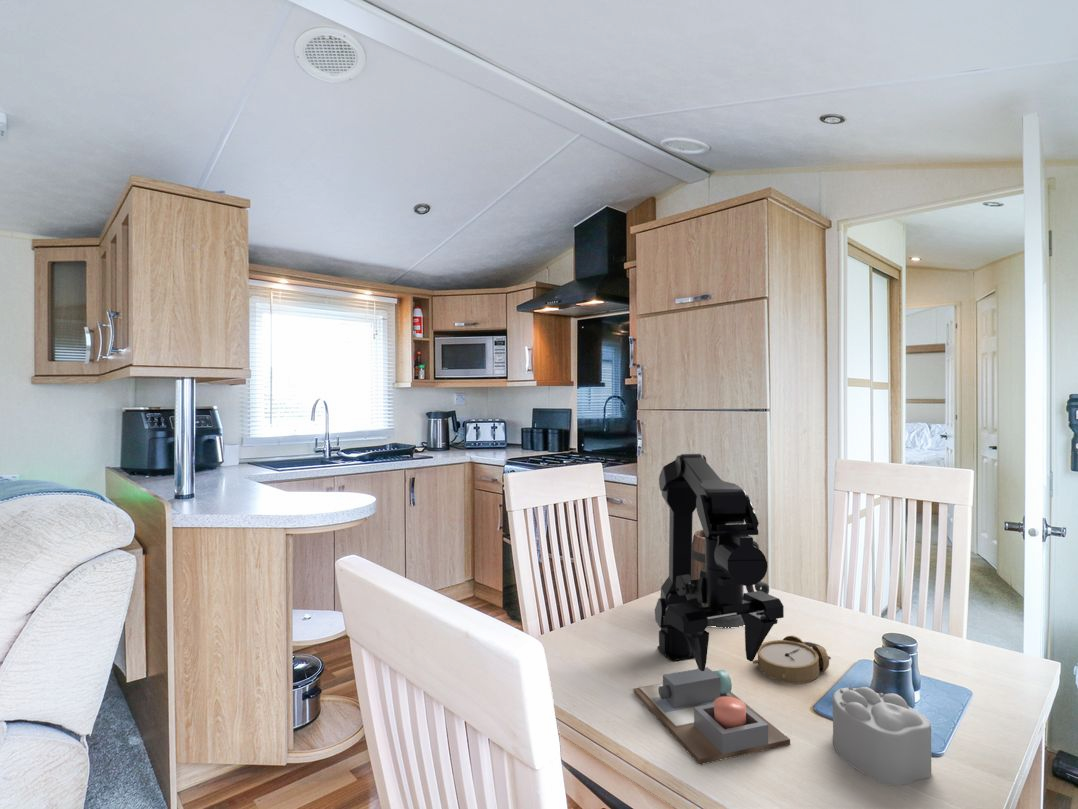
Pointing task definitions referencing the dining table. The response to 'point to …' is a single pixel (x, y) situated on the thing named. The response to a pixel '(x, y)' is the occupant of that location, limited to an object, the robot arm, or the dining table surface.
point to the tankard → (699, 565)
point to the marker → (694, 687)
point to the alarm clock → (792, 659)
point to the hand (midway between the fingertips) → (725, 665)
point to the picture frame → (689, 735)
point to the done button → (729, 712)
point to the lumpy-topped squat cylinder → (881, 735)
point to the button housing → (731, 730)
